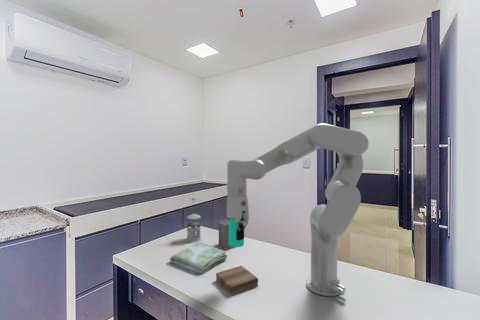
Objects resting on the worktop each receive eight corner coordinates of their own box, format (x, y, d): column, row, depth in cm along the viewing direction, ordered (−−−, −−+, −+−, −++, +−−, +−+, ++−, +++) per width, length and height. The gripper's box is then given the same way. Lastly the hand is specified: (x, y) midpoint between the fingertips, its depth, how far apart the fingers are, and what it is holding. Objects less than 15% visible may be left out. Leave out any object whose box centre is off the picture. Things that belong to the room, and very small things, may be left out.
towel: (202, 276, 100) (202, 264, 100) (169, 263, 112) (169, 252, 112) (228, 260, 115) (228, 249, 115) (196, 250, 127) (196, 240, 127)
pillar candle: (221, 241, 137) (221, 216, 137) (237, 243, 136) (237, 217, 135) (216, 248, 128) (216, 221, 127) (234, 250, 126) (233, 222, 125)
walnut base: (257, 285, 92) (257, 278, 92) (230, 295, 86) (230, 287, 86) (241, 272, 102) (241, 265, 102) (216, 280, 96) (216, 273, 96)
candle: (238, 248, 89) (238, 216, 89) (225, 245, 93) (225, 214, 92) (246, 243, 94) (247, 213, 94) (234, 240, 98) (234, 211, 97)
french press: (182, 242, 137) (182, 199, 136) (190, 235, 148) (190, 195, 147) (199, 243, 135) (198, 199, 134) (205, 236, 146) (205, 196, 146)
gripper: (257, 193, 88) (256, 242, 88) (234, 187, 102) (233, 229, 103) (240, 195, 84) (239, 246, 84) (218, 189, 98) (218, 232, 99)
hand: (236, 236), depth 93 cm, fingers closed on candle, 4 cm apart
